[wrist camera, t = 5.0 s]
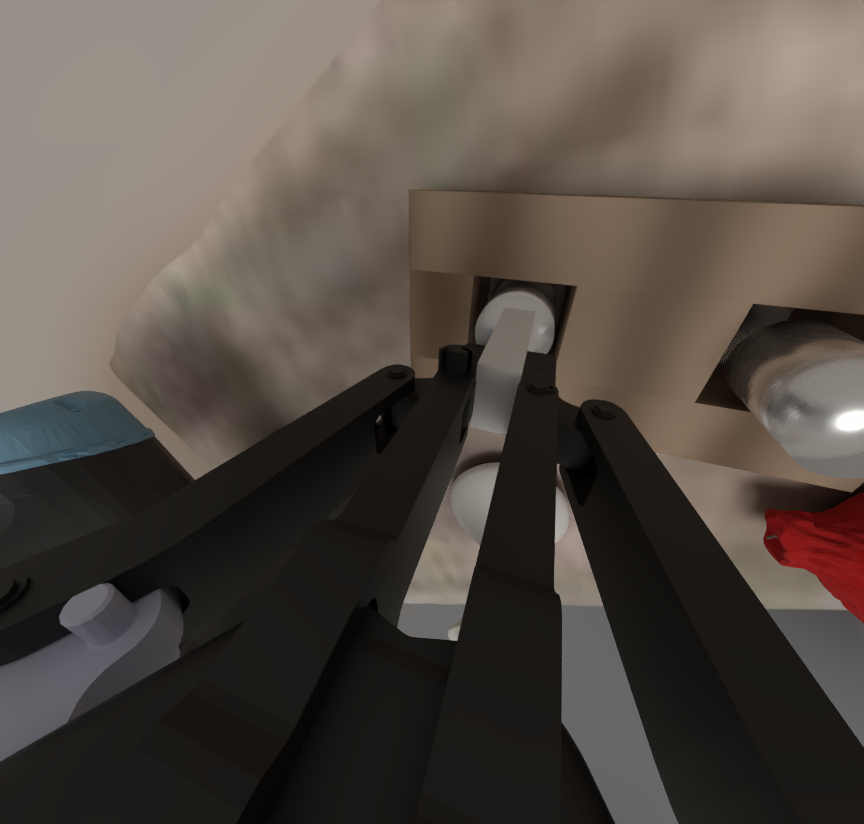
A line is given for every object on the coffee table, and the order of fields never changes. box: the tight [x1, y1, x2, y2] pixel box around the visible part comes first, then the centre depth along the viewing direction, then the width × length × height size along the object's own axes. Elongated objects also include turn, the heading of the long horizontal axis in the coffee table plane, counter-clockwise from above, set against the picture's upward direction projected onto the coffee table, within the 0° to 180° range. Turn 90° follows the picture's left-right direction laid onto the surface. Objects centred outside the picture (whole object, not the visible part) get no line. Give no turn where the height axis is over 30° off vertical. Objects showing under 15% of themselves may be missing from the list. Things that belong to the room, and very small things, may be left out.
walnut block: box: [409, 190, 864, 492], centre depth 18 cm, size 24×12×6 cm, turn 89°
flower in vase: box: [448, 462, 571, 641], centre depth 23 cm, size 13×11×25 cm
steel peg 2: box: [724, 319, 864, 478], centre depth 13 cm, size 4×4×6 cm
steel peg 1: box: [475, 279, 556, 354], centre depth 19 cm, size 4×4×6 cm
